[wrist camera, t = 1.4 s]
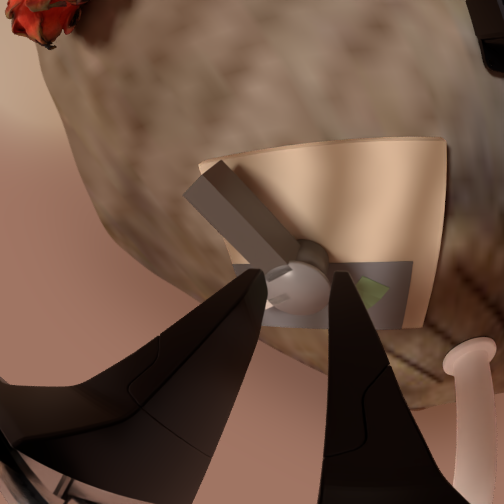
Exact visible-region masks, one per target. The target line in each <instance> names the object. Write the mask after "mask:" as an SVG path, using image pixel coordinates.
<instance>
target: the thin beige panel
mask: <svg viewBox="0 0 504 504" xmlns="http://www.w3.org/2000/svg"><path fill="white" fill-rule="evenodd" d="M221 159H222V160H223V161H224V163H225V164H226V165H227V166H228V167H229V168H230V169H231V170H232V171H233V172H234V173H235V174H236V175H237V176H238V177H239V178H240V179H241V180H242V181H243V182H244V184H245V185H246V186H247V187H248V188H249V189H250V190H251V191H252V192H253V193H254V194H255V195H256V196H257V197H258V199H259V200H260V201H261V202H262V203H263V204H264V205H265V206H266V207H267V208H268V209H269V211H270V212H271V213H272V214H273V215H274V216H275V217H276V218H277V219H278V220H279V222H280V223H281V224H282V225H283V226H284V227H285V228H286V229H287V230H288V232H289V233H290V234H291V235H292V236H293V237H294V238H295V239H296V240H298V239H305V240H310V241H313V242H315V243H317V244H319V245H320V246H321V247H323V249H324V250H325V251H326V253H327V254H328V257H329V266H328V273H327V279H328V280H329V283H330V286H331V284H332V279H333V273H334V272H335V271H348V272H349V273H350V275H351V277H352V279H353V281H354V283H355V285H356V287H357V289H358V292H359V294H360V296H361V298H362V300H363V302H364V304H365V307H366V309H367V311H368V313H369V315H370V318H371V320H372V322H373V324H374V327H375V329H376V330H390V329H402V328H422V326H423V322H424V319H425V315H426V312H427V308H428V304H429V300H430V296H431V292H432V287H433V283H434V278H435V273H436V268H437V262H438V256H439V250H440V244H441V237H442V229H443V220H444V209H445V196H446V172H447V149H446V141H445V140H444V139H443V138H441V137H380V138H360V139H346V140H334V141H323V142H313V143H305V144H296V145H289V146H282V147H275V148H268V149H262V150H256V151H250V152H244V153H239V154H233V155H228V156H223V157H218V158H213V159H208V160H204V161H203V162H202V163H200V164H199V165H198V166H199V169H200V172H201V175H202V174H203V173H204V172H206V171H207V170H208V169H209V168H211V167H212V166H213V165H215V164H216V163H217V162H218V161H220V160H221ZM223 238H224V237H223ZM224 241H225V244H226V247H227V249H228V252H229V255H230V258H231V261H232V263H233V264H232V265H233V268H234V271H235V274H236V276H237V277H238V276H239V275H240V274H242V273H243V272H244V271H246V270H247V269H249V268H254V267H253V266H252V265H251V264H250V263H249V262H248V261H247V260H246V259H245V258H244V257H243V256H242V255H241V254H240V253H239V252H238V251H237V250H236V249H235V248H234V247H233V246H232V245H231V244H230V243H229V242H228V241H227V240H226V239H225V238H224ZM261 326H275V327H291V328H311V329H328V304H327V305H326V306H325V308H323V309H322V310H321V311H319V312H317V313H314V314H311V315H293V314H289V313H286V312H283V311H281V310H279V309H277V308H276V307H274V306H272V307H270V308H268V309H265V311H264V316H263V320H262V325H261Z"/></svg>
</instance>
